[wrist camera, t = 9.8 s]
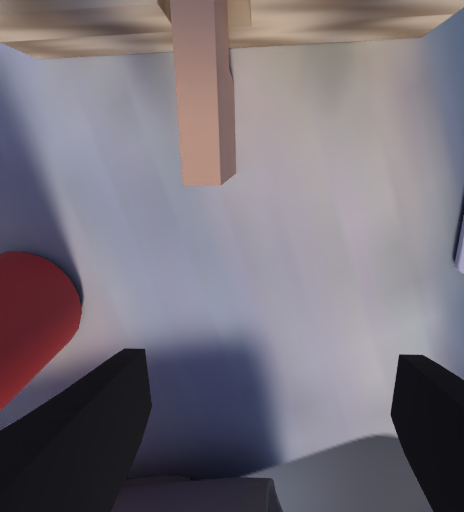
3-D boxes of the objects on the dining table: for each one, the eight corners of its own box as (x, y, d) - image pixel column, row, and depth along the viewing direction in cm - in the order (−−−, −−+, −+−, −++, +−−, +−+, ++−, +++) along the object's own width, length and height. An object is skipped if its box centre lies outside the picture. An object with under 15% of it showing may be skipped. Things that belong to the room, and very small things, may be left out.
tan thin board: (229, -130, 13) (198, -420, 7) (235, 173, 17) (220, 185, 10) (199, -127, 13) (140, -409, 7) (212, 173, 17) (183, 186, 10)
